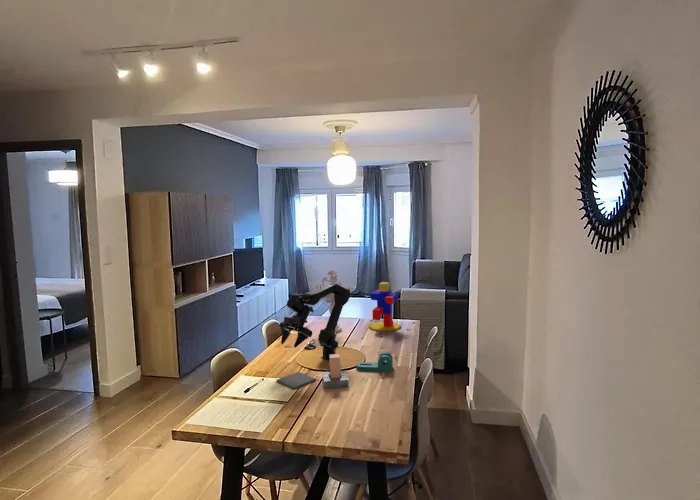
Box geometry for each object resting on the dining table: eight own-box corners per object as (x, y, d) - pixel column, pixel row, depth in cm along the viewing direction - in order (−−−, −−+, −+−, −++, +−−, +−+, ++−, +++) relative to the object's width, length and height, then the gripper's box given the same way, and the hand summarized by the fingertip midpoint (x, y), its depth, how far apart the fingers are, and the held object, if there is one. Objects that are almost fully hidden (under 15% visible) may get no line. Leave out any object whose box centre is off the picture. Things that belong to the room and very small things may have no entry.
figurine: (405, 324, 294) (404, 280, 291) (395, 333, 274) (394, 286, 271) (375, 321, 303) (374, 279, 299) (363, 330, 283) (362, 284, 280)
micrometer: (314, 351, 246) (314, 346, 246) (302, 350, 248) (302, 345, 248) (323, 342, 260) (323, 338, 260) (312, 342, 262) (312, 337, 262)
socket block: (322, 379, 205) (322, 372, 204) (345, 377, 206) (345, 370, 206) (324, 389, 194) (324, 381, 193) (348, 387, 195) (348, 379, 195)
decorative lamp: (352, 337, 267) (351, 273, 263) (314, 338, 268) (312, 274, 264) (352, 325, 295) (351, 266, 291) (318, 325, 295) (316, 267, 291)
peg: (330, 381, 202) (329, 354, 200) (339, 381, 202) (338, 353, 201) (331, 385, 197) (330, 357, 196) (340, 384, 198) (339, 357, 197)
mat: (298, 373, 212) (297, 371, 212) (315, 380, 203) (315, 378, 203) (276, 381, 203) (276, 379, 203) (294, 389, 194) (293, 387, 194)
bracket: (392, 367, 218) (392, 352, 218) (391, 372, 212) (391, 356, 211) (357, 366, 221) (356, 351, 220) (355, 371, 214) (354, 355, 214)
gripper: (278, 306, 216) (264, 335, 211) (304, 312, 204) (290, 342, 198) (292, 316, 224) (279, 344, 218) (318, 321, 212) (305, 351, 206)
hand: (288, 345), depth 210 cm, fingers open, 9 cm apart
